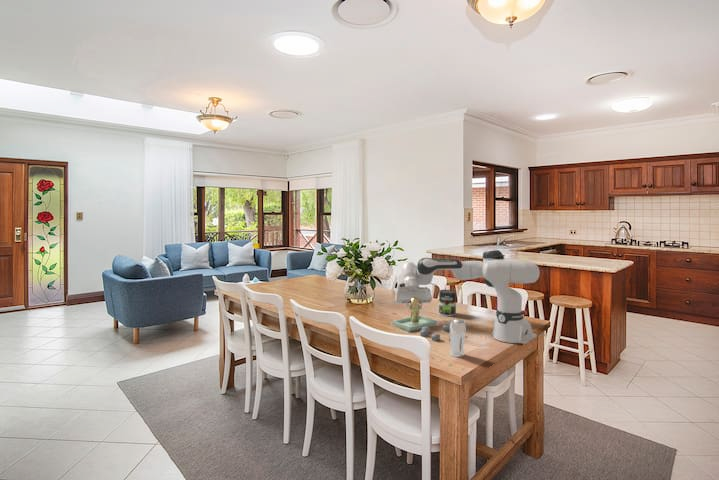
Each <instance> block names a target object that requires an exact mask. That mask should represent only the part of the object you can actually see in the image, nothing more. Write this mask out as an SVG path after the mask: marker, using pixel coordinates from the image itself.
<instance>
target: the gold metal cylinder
mask: <svg viewBox="0 0 719 480" xmlns="http://www.w3.org/2000/svg"><path fill="white" fill-rule="evenodd" d="M410 305H411V310H410V317H411V322H412V323H418V322H419V315H420V309H419V305H420V303H419V298H411V303H410Z"/></svg>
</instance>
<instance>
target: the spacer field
mask: <svg viewBox="0 0 719 480" xmlns="http://www.w3.org/2000/svg"><path fill="white" fill-rule="evenodd" d="M449 327H450V324H442V332H446V333H447V332H448V333H449ZM419 332H420V337H426V338H427V337H429V334H431V327H427V326H424V327H422V329H421V330H419ZM440 334H441V333H440ZM440 334H439V333H437V332H436V333H432V334H431V341H432V342H433V341H434V342H440V341H441V335H440ZM448 337H449V342H450V343H451V341H450V334H449V335H448Z"/></svg>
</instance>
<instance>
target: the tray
mask: <svg viewBox="0 0 719 480" xmlns="http://www.w3.org/2000/svg"><path fill="white" fill-rule="evenodd" d="M424 326H427V327H430V328H431V327H437V326H438V321H437V320H435V319H433V318H430V317H426V316H423V315H420V314H419V322H418V323H412V322H411V316H410V317H404V318H399V319H394V320H392V327H395V328H398V329H400V330H403V331H405V332H408V333H412V332H415V331H420V330H422V327H424Z"/></svg>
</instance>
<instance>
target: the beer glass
mask: <svg viewBox="0 0 719 480" xmlns="http://www.w3.org/2000/svg"><path fill="white" fill-rule="evenodd" d="M449 325H450V327H449V332H448V334H449V335H450V341H451V342H450V341H449V342H450V352H449V355H450V356H451V357H455V358H462V357H464V356H465V350H464V345H465V339H466V331H467V329H466V321H465V320H463V319H461V318H460V319H457V318H453V319H450V320H449Z"/></svg>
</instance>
